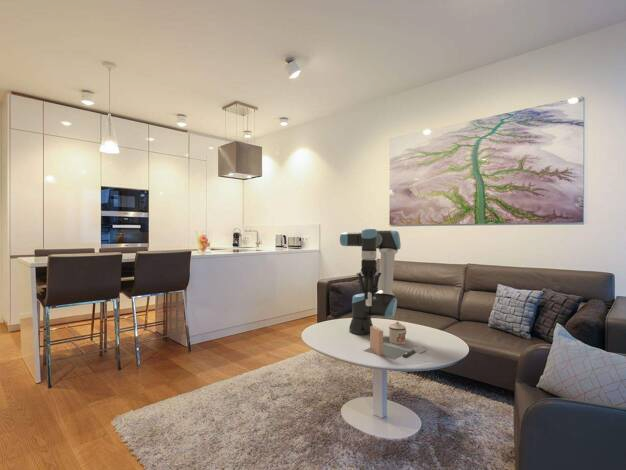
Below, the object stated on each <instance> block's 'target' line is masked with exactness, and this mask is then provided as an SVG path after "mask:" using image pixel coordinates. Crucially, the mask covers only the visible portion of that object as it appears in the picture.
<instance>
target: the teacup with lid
mask: <svg viewBox="0 0 626 470" xmlns="http://www.w3.org/2000/svg"><path fill="white" fill-rule="evenodd" d="M388 328H389V335H388V340H389V343H391V344H394V345H405V344H406V335H407V329H406V326H405V325H404V324H401V323H400V322H399V321H395V323H392V324H389V326H388Z"/></svg>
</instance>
